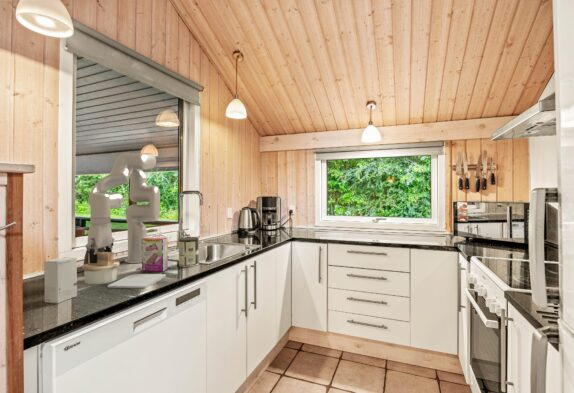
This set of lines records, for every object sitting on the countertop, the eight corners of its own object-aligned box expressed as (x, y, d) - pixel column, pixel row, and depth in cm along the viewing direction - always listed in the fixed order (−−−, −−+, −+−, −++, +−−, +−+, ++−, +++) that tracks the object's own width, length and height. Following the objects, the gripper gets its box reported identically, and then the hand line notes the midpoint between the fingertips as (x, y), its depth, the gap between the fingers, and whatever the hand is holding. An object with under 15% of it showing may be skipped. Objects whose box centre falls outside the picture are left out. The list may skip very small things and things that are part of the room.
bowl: (97, 276, 142) (97, 263, 142) (122, 277, 141) (122, 263, 141) (78, 284, 130) (78, 270, 130) (105, 285, 129) (105, 270, 129)
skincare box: (57, 304, 108) (56, 261, 107) (43, 302, 109) (42, 260, 108) (78, 295, 116) (77, 256, 115) (64, 294, 117) (64, 255, 117)
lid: (97, 265, 143) (96, 249, 143) (126, 265, 142) (125, 250, 141) (74, 273, 129) (73, 256, 129) (105, 273, 128) (105, 256, 128)
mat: (132, 275, 144) (132, 273, 144) (165, 276, 142) (165, 274, 142) (107, 287, 126) (107, 285, 126) (145, 288, 124) (145, 286, 124)
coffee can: (190, 261, 171) (190, 236, 171) (202, 264, 166) (202, 238, 165) (174, 265, 163) (174, 238, 163) (187, 268, 157) (186, 240, 157)
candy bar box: (141, 271, 150) (140, 238, 150) (146, 269, 155) (146, 236, 155) (163, 272, 149) (162, 238, 149) (168, 269, 154) (167, 236, 154)
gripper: (105, 219, 144) (106, 256, 144) (77, 223, 126) (78, 265, 127) (121, 219, 143) (121, 256, 143) (95, 223, 126) (95, 265, 126)
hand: (101, 260), depth 135 cm, fingers open, 8 cm apart
